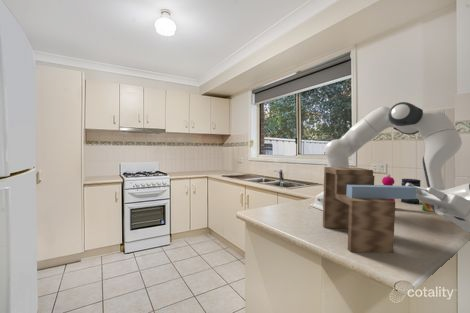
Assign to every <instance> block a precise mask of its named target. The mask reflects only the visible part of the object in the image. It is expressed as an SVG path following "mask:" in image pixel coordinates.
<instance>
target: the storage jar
mask: <svg viewBox="0 0 470 313" xmlns="http://www.w3.org/2000/svg"><path fill="white" fill-rule="evenodd" d="M406 183H411V184H413V185H414V186H417V187H422V186H421V180H420V179H416V178H401V185H400V186H405V185H406ZM400 202H401V203H403V204H408V205H420V200H418V199H400Z"/></svg>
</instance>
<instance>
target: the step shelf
mask: <svg viewBox="0 0 470 313" xmlns="http://www.w3.org/2000/svg"><path fill="white" fill-rule="evenodd" d="M323 170H324V172H323V175H324V176H323V186H324V187H323V191H324V198H323V210H322V227H323V229H348V230H347V231H348V232H347V233H348V234H347V250H348V251H349V252H350V253H383V254H384V253H386V254H388V253H390V254H393V253H394V245H395V244H394V243H395V242H394V241H395V240H394V239H395V224H396V223H395V220H396V219H395V218H396V201H392V200H389V199H380V198H351V197H348V196H346V191H347V185H375V177H376V176H375V175H374V170H373V169H367V168H363V167H362V168H361V167H352V166H351V167H350V166H349V167H328V166H324V168H323Z"/></svg>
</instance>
